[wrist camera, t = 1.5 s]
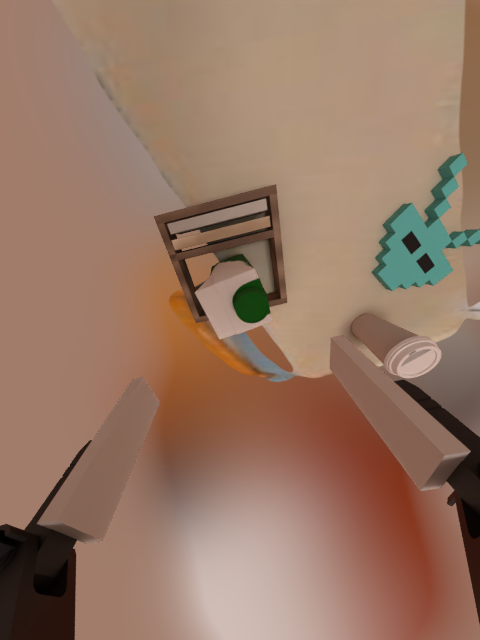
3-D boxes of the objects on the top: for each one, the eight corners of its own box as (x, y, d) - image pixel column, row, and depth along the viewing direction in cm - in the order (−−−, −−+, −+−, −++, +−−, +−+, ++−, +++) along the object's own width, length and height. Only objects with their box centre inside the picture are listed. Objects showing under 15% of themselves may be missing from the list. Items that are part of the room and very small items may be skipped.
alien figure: (447, 157, 30) (353, 252, 37) (462, 152, 28) (360, 253, 35) (483, 234, 37) (398, 303, 43) (498, 234, 35) (406, 306, 41)
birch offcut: (182, 238, 34) (171, 240, 27) (261, 219, 33) (269, 215, 26) (185, 246, 34) (174, 250, 28) (262, 227, 33) (270, 226, 27)
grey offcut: (178, 225, 33) (167, 224, 27) (259, 204, 32) (265, 198, 26) (181, 233, 33) (170, 234, 27) (260, 213, 32) (267, 209, 27)
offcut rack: (163, 218, 32) (153, 216, 28) (270, 190, 31) (276, 184, 27) (199, 314, 41) (195, 323, 37) (281, 295, 40) (287, 302, 36)
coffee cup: (381, 302, 42) (450, 334, 29) (381, 332, 47) (442, 372, 33) (343, 316, 44) (393, 353, 30) (346, 343, 48) (391, 386, 35)
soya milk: (258, 286, 39) (281, 331, 21) (222, 300, 40) (215, 354, 22) (245, 247, 35) (260, 263, 17) (205, 264, 36) (181, 295, 18)
